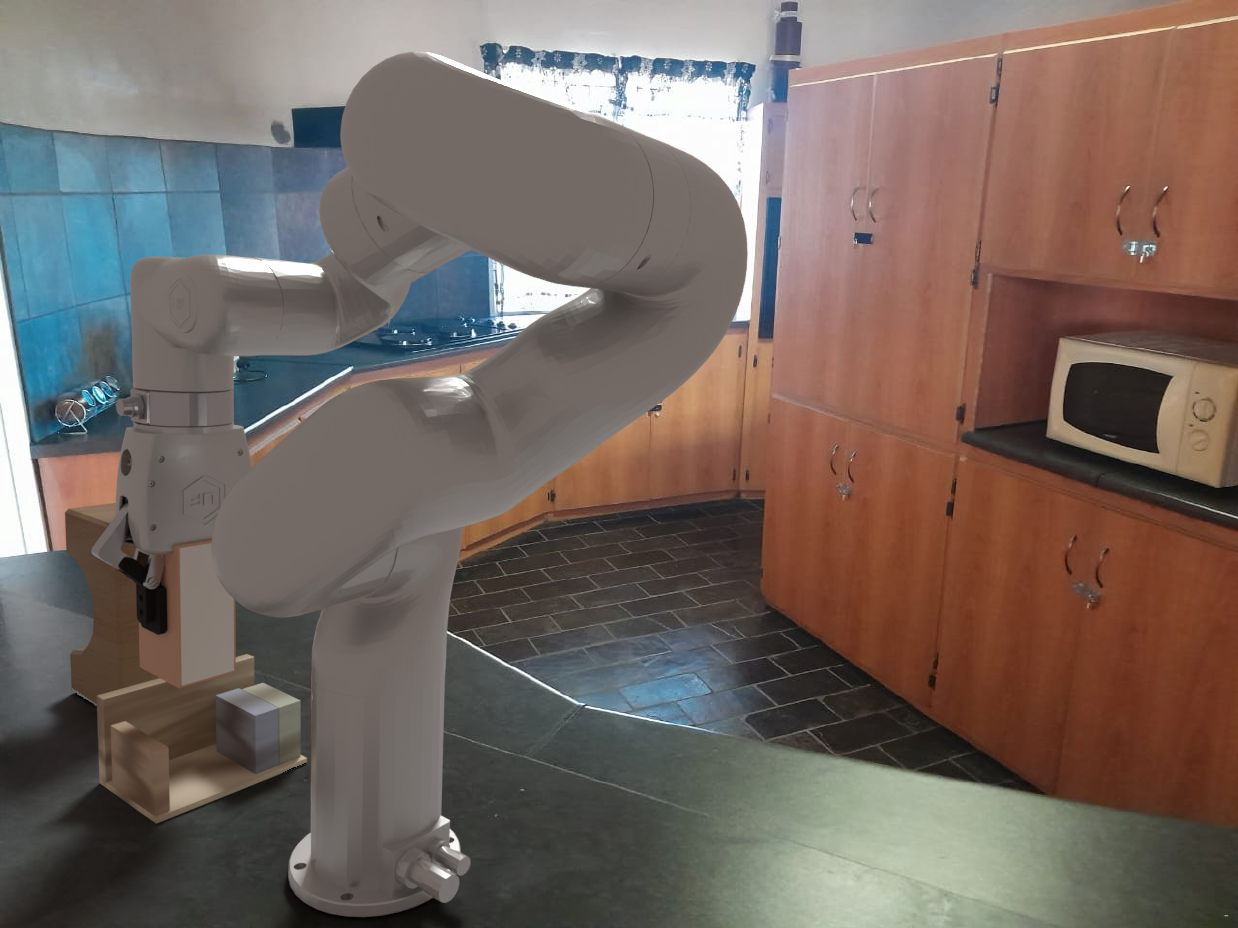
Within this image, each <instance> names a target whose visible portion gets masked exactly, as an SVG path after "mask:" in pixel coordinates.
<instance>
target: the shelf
mask: <svg viewBox="0 0 1238 928" xmlns="http://www.w3.org/2000/svg"><path fill="white" fill-rule="evenodd" d="M301 702H302V701H301V699H298V698H296V697H294V696H292V695H290V694H287V693H285V692H284V691H281V690H279V689H277V688H275V687H273V686H271V685H269V684H266V683H265V682H260V683H258V684H255V656H253V655H250V654H249V653H245V654H241V655H238V656H236V672H234V673H231V674H227V675H224V676H220V677H217V678H213V679H210V680H207V681H203V682H200V683H196V684H193V685H189V686H186V687H182V688H177V687H176V686H174V685H172V684H170V683H168V682H166V681H165V680H163V679H161V678H159V679H155V680H151V681H148V682H144V683H141V684H137V685H133V686H130V687H126V688H123V689H119V690H115V691H112V692H108V693H104V694H101V695H97V707H96V713H97V715H96V717H97V740H98V741H97V745H98V747H97V749H98V773H99V777H98V778H99V784H100V785H102V786H103V787H104V788H106V789H107V790H109V791H110V792H111V793H112V794H114V795H116V796H117V797H118V798H120V799H121V800H122V801H124V802H125V803H127V804H128V805H129V806H130V807H132V808H133V809H134V810H136V811H138V812H139V813H140V814H142V815H144V816H145V817H146V818H148V819H149V820H151V821H152V822H153V823H155V824H159V823H161V822H164V821H166V820H169V819H171V818H174V817H176V816H179V815H182V814H184V813H186V812H189V811H193V810H194V809H196V808H199V807H201V806H204V805H206V804H209V803H212V802H214V801H216V800H219V799H222V798H224V797H227V796H229V795H232V794H234V793H236V792H238V791H241V790H243V789H246V788H248V787H251V786H254V785H256V784H258V783H259V784H260V783H261V782H263V781H266V780H268V779H270V778H273V777H276V776H278V775H281V774H283V772H284V773H286V772H288V771H287V770H289V769H291V768H293V767H296V768H298V767H297V766H299V765H301V766H303V765H302V764H304V763H306V762H307V763H308V757H306V756H305V755H302V753H301V748H302V747H301V746H302V745H301V739H302V738H301V729H302V728H301V726H302V725H301V723H302V722H301V721H302V720H301V718H302V717H301V715H302V714H301V713H302V712H301V709H302V708H301V707H302V705H301ZM307 763H306V764H307ZM304 765H305V764H304ZM299 767H300V766H299ZM291 770H292V769H291ZM285 771H286V772H285ZM289 771H290V770H289Z"/></svg>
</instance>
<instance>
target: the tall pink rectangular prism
mask: <svg viewBox="0 0 1238 928" xmlns="http://www.w3.org/2000/svg"><path fill="white" fill-rule="evenodd" d="M160 584H161V586H163V587H165V588H166V591H167V631H166V633H165V634H160V635H157V634H155V633H153V632H151V631H149V630H147V629H145V628H143V627H142V626H141V623H139V655H140V667H141V668H142V669H144V670H146V671H148V672H150V673H152V674H153V675H155V676H157V677H159V678H161V679H163V680H165V681H166V682H168V683H170V684H172V685H174V686H176V687H177V688H182V687H186V686H189V685H193V684H196V683H200V682H203V681H207V680H210V679H213V678H217V677H220V676H224V675H227V674H231V673H234V672H236V657H237V655H236V654H237V652H236V648H237V647H236V645H237V644H236V638H237V637H236V634H237V633H236V629H237V628H236V627H237V626H236V622H237V621H236V610H237V609H236V600H235V599H234V598H232V597H231V596H230V595H229V593H228V592H227V591H226V590H225V588H224V587H223V586H222V584H221V582H220V580H219V578H218V576H217V574H216V571H215V568H214V564H213V558H212V539H209V540H203V541H197V542H191V543H184V544H178V545H174V552H173V553H172V554H166V555H165V566H164V569H163V573H162V577H161V581H160Z"/></svg>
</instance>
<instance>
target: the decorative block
mask: <svg viewBox="0 0 1238 928" xmlns="http://www.w3.org/2000/svg"><path fill="white" fill-rule="evenodd" d="M115 516H116V502H113V503H105V504H104V503H103V504H97V505H96V504H95V505H87V506H79V507H70V508H67V510H66V511H64V523H65V525H64V526H65V550H66V551H65V552H66V553H67V554H68V555H69V556H71V558H72V559H74V560H75V561H76V563H77V564H78V566H79V568H80V570H81V572H82V573H83V575H84V578H85V581H86V584H87V587H88V590H89V592H90V596H91V602H92V610H93V612H92V613H93V625H92V635H91V637H90V640H89V642H88V645H87V646H85V647H80V648H75V649H73V650H72V652H70V655H69V656H70V657H69V659H70V682H71V683H70V684H71V689H72V688H73V689H74V690H76V691H78V692H79V693H81V694H82V695H84V696H85V697H87V698H88V699H90V700H92V701H93V702H95V703H96V704H97V695H101V694H104V693H108V692H112V691H115V690H119V689H123V688H126V687H130V686H133V685H137V684H141V683H144V682H148V681H151V680H155V679H159V677H157V676H155V675H153V674H152V673H150V672H148V671H146V670H144V669H142V668H141V667H140V655H139V621H138V619H137V606H136V583H135V582H132V581H131V580H130V579H129V578H128V577H127V576H125V575H124V574H123V573H121V572H120V571H119V570H117V569H116V568H115V567H113V566H112V565H110V564H108V563H106V562H104V561H103V560H101V559H99V558H97V557H96V556H94V555H93V554H92V552H91V550H92V547H93V546H94V545H95V543H96V542H97V541H98V539H99V538H100V537H101V535H102V534H103V532H104V531H105V530H106V528H107V527H108V526H109V524H110V523H111V522H112V520H113V519H114V518H115ZM121 551H122V552H123V553H125V554H126V555H128V556H129V557H131V558H134V554H135V551H136V546H129V545H125V544H122V545H121Z"/></svg>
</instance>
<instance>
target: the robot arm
mask: <svg viewBox="0 0 1238 928" xmlns="http://www.w3.org/2000/svg"><path fill="white" fill-rule="evenodd" d="M341 117H342V118H341V123H340V132H339V133H340V134H339V135H340V146H341V152H342V154H343V158H344V162H345V164H346V167H345V168H343V169H342V170H340V171H339V172H338V173H336V174H334V175H333V176H332V177H331V178H330V179H329V180H328V181H327V183H326V184H325V186H324V188H323V190H322V192H321V194H320V199H319V205H318V207H319V209H318V213H319V221H320V226H321V230H322V233H323V235H324V239H325V241H326V243H327V245H328V247H329V249H330V250H331V253H329V254H328V255H326V256H324V257H321V258H319V259H317V260H315V261H312V262H298V261H292V260H291V261H290V260H282V259H281V260H280V259H273V258H272V259H271V258H265V257H264V258H263V257H255V256H253V257H247V256H238V255H229V254H215V253H213V254H212V253H211V254H208V253H207V254H205V253H204V254H198V255H197V254H196V255H192V256H188V257H178V256H162V255H161V256H157V255H155V256H153V255H151V256H144V257H141V258H140V259H138V260H136V261H135V262H134V264H133V265H132V268H131V272H130V278H129V279H130V280H129V281H130V282H129V283H130V316H131V319H130V322H131V353H132V354H131V361H132V362H131V363H132V369H131V370H132V388H130V393H129V394H130V396H128V397H126V398H118V399H117V400H116V403H115V410H116V413H117V414H118V415H119V416H121V417H123V416H128V417H129V418H130V421H132V422H133V426H129V427H125V432H124V437H123V439H122V443H121V447H120V448H121V449H120V455H119V461H118V469H117V476H116V477H117V478H116V489H115V503H116V516H115V518H114V519H113V520H112V522H111V523H110V524H109V526H108V527H107V528H106V530H105V531H104V532H103V534H102V535H101V537H100V538H99V539H98V541H97V542H96V543H95V545H94V546H93V547H92V550H91V552H92V554H93V555H94V556H96V557H97V558H99V559H101V560H103V561H104V562H106V563H108V564H110V565H112V566H113V567H115V568H116V569H117V570H119V571H120V572H121V573H123V574H124V575H125V576H127V577H128V578H129V579H130V580H131V581H132V582H135V583H136V606H137V619H138V621H139V623H141V626H142V627H143V628H145V629H147V630H149V631H151V632H153V633H155V634H157V635H160V634H165V633H166V631H167V591H166V588H165V587H163V586H161V584H160V581H161V577H162V573H163V569H164V566H165V555H166V554H172V553H173V552H174V545H178V544H184V543H191V542H197V541H203V540H209V539H212V558H213V564H214V568H215V571H216V574H217V576H218V578H219V580H220V582H221V584H222V586H223V587H224V588H225V590H226V591H227V592H228V593H229V595H230V596H231V597H232V598H234V599H235V602H237V603H238V604H239V605H240V606H242V607H243V608H246V609H247V610H249V611H252V612H254V613H257V614H259V615H262V616H266V617H273V618H292V617H298V616H302V615H305V614H310V613H313V612H318V611H320V610H321V612H320V615H319V618H318V619H317V620H318V621H317V624H316V627H315V631H314V636H313V640H312V641H313V643H312V649H311V676H310V677H311V679H310V683H311V684H310V685H311V686H310V832H309V833H308V834H306V835H305V836H304V837H302V839H301V840H300V841H299V842H298V843H296V844H297V845H296V846H294V848H293V850H292V852H291V854H290V857H289V860H288V867H287V868H288V874H287V875H288V876H287V877H288V882H289V886H290V888H291V890H292V891H293V893H294V895H295V896H296V897H298V899H299V900H301V901H302V902H303V903H305V904H306V905H307V906H309V907H312V908H314V909H315V910H318V911H321V912H324V913H327V914H331V915H336V916H343V917H348V918H350V917H351V918H353V917H354V918H370V917H380V916H381V917H383V916H386V915H391V914H395V913H400V912H404V911H407V910H410V909H413V908H416V907H417V906H420V905H422V904H424V903H426V902H428V901H430V900H431V899H435V900H437V901H438V902H440V903H442V904H443V903H444V904H446V903H449V902H450V901H452V899H453V898H454V897H455V896H456V894H457V892H458V891H459V888H460V887H459V886H460V877H461V876H464V875H465V874H466V873H467V872H468V871H469V869H470V867H471V861H472V860H471V858H470V857H469V856H468V855H466V854H464V853H463V852H461V851H462V850H461V849H462V848H461V844H460V840H459V838H458V836H457V834H456V833H455V832H454V831H453V830H452V829H451V820H450V819H448V818H446V817H445V816H443V815H442V803H443V802H442V799H443V797H442V796H443V795H442V794H443V760H444V758H443V756H444V725H445V722H444V721H445V720H444V719H445V716H444V715H445V690H446V689H445V686H446V685H445V684H446V683H445V682H446V671H447V670H446V667H447V665H446V664H447V640H448V639H447V638H448V624H449V623H448V622H449V612H450V602H451V594H452V591H453V585H454V579H455V576H456V570H457V567H458V562H459V559H460V558H459V557H460V553H461V548H462V543H463V533H464V527H467V526H471V525H474V524H477V523H480V522H483V521H487V520H490V519H494V518H496V517H498V516H501V515H502V514H505V513H506V512H508V511H511V510H512V509H513V508H515V507H516V506H517V505H518V504H520V503H521V502H523V501H524V500H525V499H527V498H528V497H529V496H530V495H532V494H533V493H535V492H536V491H537V490H538V489H540V488H541V487H543V486H544V485H545V484H547V483H548V482H550V481H551V480H553V479H555V478H556V477H557V476H559V475H560V474H561V473H563V472H564V471H566V470H567V469H570V468H571V467H572V466H573V465H574V464H576V463H577V462H579V461H580V460H582V459H583V458H585V457H587V456H588V455H589V454H591V453H592V452H594V451H595V450H596V449H597V448H598V447H600V446H602V444H603V443H605V442H606V441H608V440H609V439H610V438H612V437H614V436H615V435H616V434H617V433H619V432H620V431H622V430H623V429H625V428H627V426H629V425H630V424H632V423H634V422H635V421H636V420H638V419H639V418H640V417H642V416H645V414H646V413H647V412H649V411H650V410H652V409H654V408H655V407H656V406H657V405H659V404H660V403H662V402H663V401H665V400H666V399H667V398H668V397H669V396H671V395H672V394H673V393H674V392H676V391H677V390H678V389H679V388H681V387H682V386H683V385H684V384H685V383H687V381H689V380H690V379H691V377H692V376H695V375H694V374H696V373H697V372H698V371H699V370H700V368H701V367H702V366H703V365H704V364H705V363H706V362H707V361H708V360H709V358H711V356H712V355H713V353H715V351H716V350H717V348H718V346H719V345H720V344H721V342H722V341H723V339H724V337H725V336H726V334H727V332H728V330H729V329H730V327H731V325H732V322H733V321H734V319H735V316H736V314H737V312H738V309H739V306H740V304H741V300H742V296H743V293H744V287H745V284H746V277H747V271H748V255H749V254H748V236H747V231H746V223H745V220H744V217H743V214H742V210H741V208H740V205H739V203H738V200H737V199H736V196H735V195H734V194H733V191H732V189H731V188H730V187H729V185H728V184H727V183H726V182H725V180H723V178H722V177H721V176H720V175H719V174H718V173H717V172H716V170H715V171H714V169H713V168H711V167H710V166H709V165H707V164H706V163H705V162H703V161H702V160H700V159H698V157H695V156H694V155H693V154H690V153H688V152H686V151H685V150H682V149H679V148H677V147H675V146H673V145H671V144H668V143H666V142H664V141H662V140H659V139H655V138H653V137H650V136H649V135H645V134H643V133H641V132H638V131H636V130H634V129H631V128H628V127H626V126H624V125H622V124H619V123H616V122H615V121H613V120H610V119H608V118H605V117H602V116H600V115H597V114H595V113H593V112H591V111H587V110H586V109H585V110H584V109H581V108H579V107H576V106H573V105H571V104H568V103H565V102H562V101H559V100H556V99H553V98H550V97H547V96H544V95H541V94H538V93H535V92H533V91H531V90H527V89H524V88H521V87H519V86H516V85H513V84H511V83H509V82H506V81H504V80H501V79H499V78H496V77H494V76H491V75H488V74H486V73H484V72H482V71H480V70H477V69H475V68H473V67H472V68H471V67H470V66H467V65H465V64H463V63H460V62H458V61H455V60H452V59H449V58H447V57H445V56H443V55H439V54H436V53H433V52H428V51H407V52H403V53H398V54H394V55H393V56H390V57H388V58H385V59H384V60H382V61H380V62H378V63H377V64H375V65H374V66H372V67H371V68H370V69H369V70H368V71H367V72H366V73H365V74H364V75H362V77H361V78H360V79H359V81H358V82H357V84H356V85H355V86H354V87H353V89H352V91H351V93H350V95H349V96H348V98H347V100H346V103H345V106H344V109H343V113H342V116H341ZM471 250H472V251H474V252H475V253H478V254H481V255H482V256H485V257H487V259H488V258H489V259H490V260H493V261H494V262H497V263H499V264H501V265H504V266H506V267H507V268H509V269H512V270H514V271H516V272H519V273H522V274H523V275H527V276H529V277H532V278H536V279H540V280H542V281H544V282H545V281H546V282H548V283H551V284H555V285H563V286H570V287H575V288H576V287H577V288H587V289H588V290H586V291H585V292H583V293H582V294H581V295H579V296H577V297H575V298H574V299H571V300H570V301H568V302H567V303H564V304H563V305H560V306H559V307H556V308H554V309H553V310H551V311H550V312H547V313H546V314H544V315H543V316H541V317H539V318H537V319H536V320H535V321H533V322H532V323H529V324H528V325H527V326H526V327H525V328H524V329H523V330H521V331H520V332H519V333H518V334H517V335H516V336H515V337H514V338H513V339H512V340H510V341H509V342H508V343H506V345H504V346H503V347H502V348H500V349H498V350H497V351H496V352H494V353H493V354H492V355H491V356H489V357H488V358H486V359H485V360H483V361H481V363H479V364H477V365H475V366H473V367H472V368H470V369H468V370H465V371H462V372H460V373H455V374H454V373H453V374H448V375H438V376H420V377H399V378H398V377H395V378H387V379H386V378H385V379H379V380H373V381H369V382H366V383H362V384H359V385H356V386H354V387H352V388H349V389H347V390H345V391H343V392H340V393H339V394H337V395H335V396H333V397H332V398H330V399H329V400H326V401H325V403H323V404H321V406H319V407H318V408H317V409H316V410H315V411H314V412H312V413H311V414H310V415H308V417H307V418H305V419H304V420H303V421H302V422H301V423H300V424H298V426H296V427H295V428H294V429H293V430H292V431H290V432H289V433H288V434H287V435H286V436H285V437H284V438H283V439H282V440H280V442H278V443H277V444H276V445H275V446H274V447H273V448H271V449H270V450H269V451H268V452H267V453H266V454H265V455H264V456H263V457H262V458H261V459H259V460H258V461H257V462H255V464H254V465H253V464H252V458H251V454H250V453H251V452H250V448H249V444H248V439H247V435H246V432H245V428H244V426H243V425H239V424H238V425H237V424H235V402H234V401H235V399H234V398H235V396H234V395H235V390H234V388H235V384H234V383H235V382H234V374H235V371H234V369H235V368H234V367H235V365H234V364H235V363H234V362H235V361H234V359H235V358H234V357H256V356H316V355H321V354H326V353H329V352H332V351H335V350H338V349H340V348H342V347H344V346H347V345H349V344H351V343H352V342H355V341H356V340H360V338H363V337H365V336H366V335H368V334H370V333H372V332H374V331H376V330H379V328H381V327H382V326H384V325H386V324H388V323H389V322H390V321H391V319H393V318H394V316H396V314H397V313H398V312H399V310H400V308H401V307H402V305H403V303H404V302H405V300H406V298H407V296H408V294H409V291H410V288H411V284H412V283H413V282H415V281H416V280H418V279H420V278H421V277H424V276H426V275H427V274H429V273H431V272H433V271H435V270H436V269H437V268H439V267H441V266H443V265H445V264H447V263H449V262H451V261H453V260H454V259H456V258H458V257H460V256H462V255H464V254H465V253H468V252H469V251H471ZM252 465H253V466H252ZM122 544H125V545H129V546H136V551H135V554H134V558H131V557H129V556H128V555H126V554H125V553H123V552H122V551H121V545H122Z"/></svg>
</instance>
